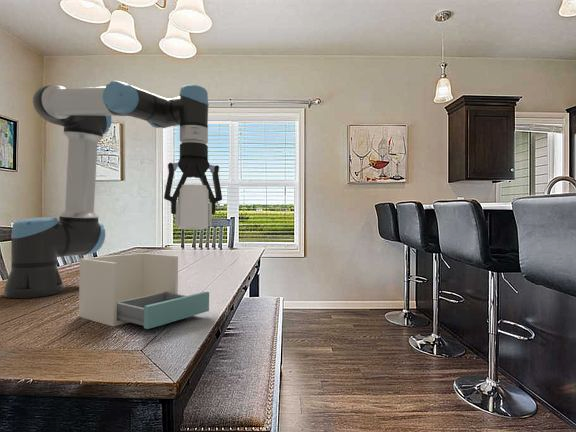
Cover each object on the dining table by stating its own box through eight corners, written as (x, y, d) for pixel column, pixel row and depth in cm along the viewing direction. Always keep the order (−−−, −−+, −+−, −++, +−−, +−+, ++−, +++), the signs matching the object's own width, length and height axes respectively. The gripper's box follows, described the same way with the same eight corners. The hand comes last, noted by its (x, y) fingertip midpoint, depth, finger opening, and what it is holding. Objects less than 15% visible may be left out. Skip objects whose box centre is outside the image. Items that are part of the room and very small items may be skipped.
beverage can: (214, 229, 102) (214, 185, 102) (186, 229, 96) (187, 183, 96) (199, 228, 107) (199, 187, 107) (172, 229, 102) (173, 185, 102)
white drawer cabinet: (79, 316, 89) (79, 258, 89) (143, 302, 104) (144, 252, 104) (113, 326, 82) (114, 263, 82) (177, 309, 97) (178, 256, 97)
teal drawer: (107, 318, 83) (107, 297, 83) (170, 303, 98) (170, 285, 98) (147, 329, 76) (147, 306, 76) (208, 310, 91) (209, 292, 91)
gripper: (154, 137, 94) (154, 226, 94) (234, 144, 102) (233, 226, 102) (153, 143, 101) (152, 226, 101) (227, 148, 109) (227, 225, 109)
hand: (193, 226), depth 102 cm, fingers closed on beverage can, 8 cm apart
